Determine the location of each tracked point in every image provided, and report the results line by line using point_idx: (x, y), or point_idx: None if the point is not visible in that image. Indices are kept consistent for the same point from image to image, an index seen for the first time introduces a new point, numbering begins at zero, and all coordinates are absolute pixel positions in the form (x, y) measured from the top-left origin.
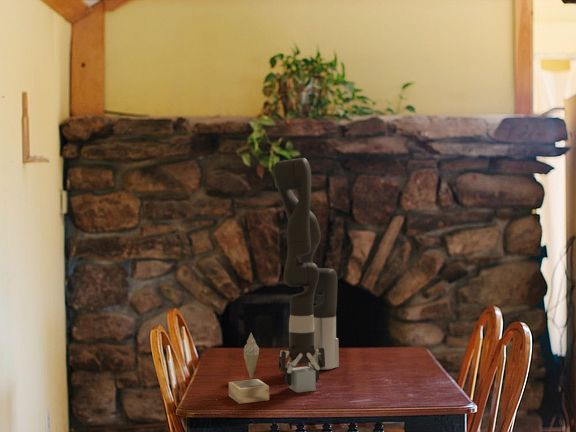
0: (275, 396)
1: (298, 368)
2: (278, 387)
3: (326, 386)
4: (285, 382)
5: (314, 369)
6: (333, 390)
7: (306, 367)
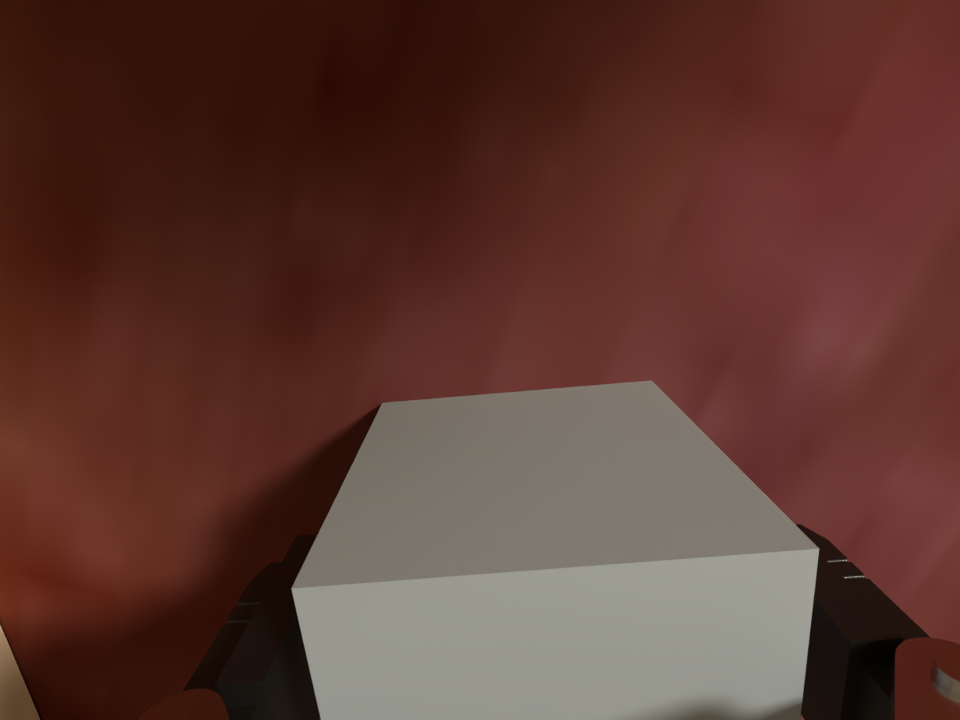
0: (146, 687)
1: (518, 669)
2: (245, 339)
3: (862, 489)
4: (267, 576)
5: (862, 705)
6: None
7: (744, 642)
